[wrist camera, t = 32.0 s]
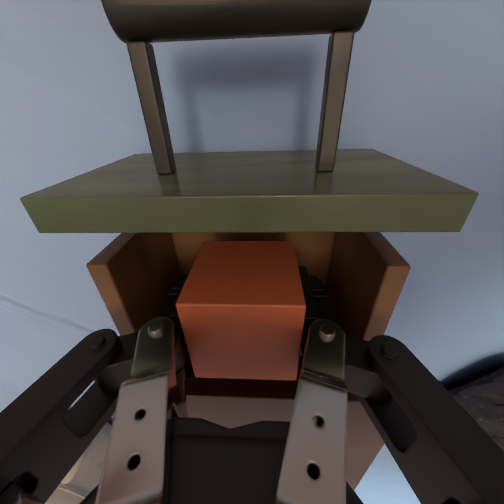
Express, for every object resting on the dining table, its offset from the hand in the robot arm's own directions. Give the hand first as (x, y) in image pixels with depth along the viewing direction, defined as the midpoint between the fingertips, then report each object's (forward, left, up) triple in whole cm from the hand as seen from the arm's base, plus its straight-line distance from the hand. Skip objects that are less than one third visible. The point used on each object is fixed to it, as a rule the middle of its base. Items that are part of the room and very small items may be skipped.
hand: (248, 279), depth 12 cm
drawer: (-1, 0, -4) cm, 4 cm away
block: (0, 0, 0) cm, 0 cm away
